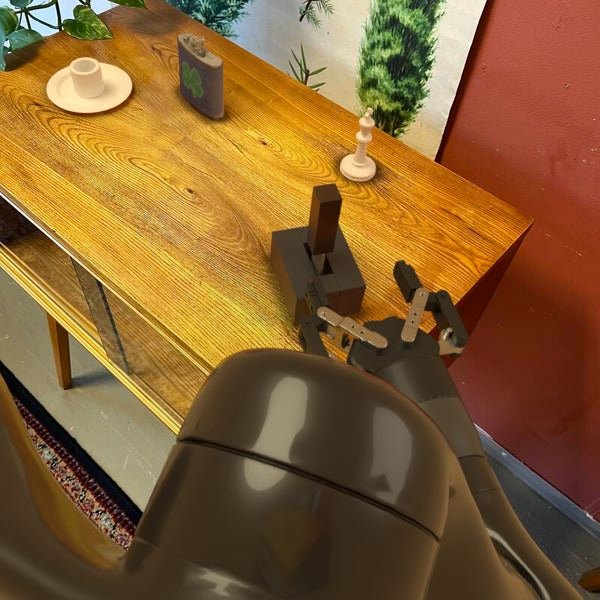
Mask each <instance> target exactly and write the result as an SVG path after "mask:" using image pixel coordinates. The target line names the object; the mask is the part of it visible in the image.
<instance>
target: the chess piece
mask: <svg viewBox="0 0 600 600" xmlns="http://www.w3.org/2000/svg"><path fill="white" fill-rule="evenodd" d="M373 114H374V109H373V108H372V107H367V108H366V113H365V114H363V116H362V117H360V119H359V120H358V124H359V130H360V131H358V132H357V133H356V134H355V138H356V140H357V141H358V144H357V147H356V150H355V153H351V154H347V155H346V156H344V157H343V158H342V160H341V162H340V166H339V171H340V173H341V174H342V176H344V177H345V178H347V179H348V180H351V181H353V182H366V181H369V180H371V179H372V178H374V177H375V175H376V173H377V171H376V170H377V166H376V163H375V161H374V160H373V159H372V158H370V157H369V156H367V148H368V147H367V146H368V143H370V142H372V140H373V135H372V133H371V132H372V129H374V127H375V124H376V122H375V119H374V118H372V117H371V116H372V115H373Z"/></svg>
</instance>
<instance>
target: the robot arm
mask: <svg viewBox="0 0 600 600" xmlns="http://www.w3.org/2000/svg"><path fill="white" fill-rule="evenodd" d="M392 275H393V276H392V277H393V279H394V280H395V282H396V285H397V287H398V290H399V291H400V293H401V295H402V297H403V300H404V301H405V303H406V304H410V307H409V310H408V312H407V315H406V318H401V317H398V315H391V316H388V317H386V318H383V319H381V320H376V319H375V320H374V319H371V320H368V321H363V324H360V323H359V322H357V321H356V320H354V319H352V318H351V317H349V316H340V315H338V314H337V313H335V312H333V311H332V310H330V309H329V308H330V303H329V300H328V298H327V295H326V293H325V290H324V288H323V285H322V283H321V280H320V278H319V276H318V275H317V276H311V277H310V282H309V283H307V286H306V293H305V298H306V301H307V303H308V306H309V309H310V311H311V314H312V315H311V316H309V317H308V316H304V317H302V318H301V319H300V322H299V325H298V332H297V340H298V343H299V345H300V348H301V349H302V351H301V350H296V349H292V348H291V349H289V348H281V347H280V348H279V347H254V348H247V349H242V350H239V351H236V352H234V353H232V354H230V355H228V356H225V357H224V358H223V359H222V360H221V361H220V362H218V364H216V366H215V367H214V368H213V369H211V371H210V372H209V374H208V375H207V377H206V378H205V379H204V381H203V383H202V384H201V387H200V388H199V390H198V391H197V393H196V395H195V397H194V399H193V401H192V403H191V404H190V405H189V409H188V411H187V413H186V415H185V417H184V419H183V421H182V423H181V426H180V428H179V430H178V433H177V435H176V438H175V444H173V445H172V446H171V447H170V451H169V452H168V455H167V458H166V460H165V462H164V464H163V467H162V469H161V471H160V474H159V476H158V478H157V480H156V482H155V485H154V487H153V489H152V492H151V494H150V496H149V498H148V501H147V503H146V506H145V507H144V510H143V513H142V514H141V517H140V519H139V522H138V523H137V526H136V528H135V531H134V536H133V538H132V540H131V542H130V544H129V546H128V548H127V550H126V549H125V548H124V547H123V546H121V545H120V544H119V543H118V542H116V541H115V540H114V539H113V538H111V537H110V536H109V535H107V534H106V533H105V532H104V531H103V530H102V528H101V529H100V527H99V526H98V525H96V523H94V521H92V520H91V519H90V517H88V516H87V515H86V514H85V513H84V512H83V511H82V510H81V509H80V507H79V506H78V505H77V504H75V502H74V501H73V500H72V499H71V498H70V496H69V495H68V493H66V491H65V490H64V489H63V487H62V486H61V485H60V483H59V482H58V480H57V479H56V477H55V476H54V474H53V473H52V472H51V470H50V468H49V467H48V465H47V464H46V463H45V461H44V459H43V457H42V455H41V454H40V452H39V450H38V448H37V446H36V444H35V442H34V440H33V437H32V436H31V434H30V431H29V428H28V427H27V425H26V422H25V420H24V419H23V417H22V414H21V412H20V410H19V408H18V406H17V403H16V402H15V399H14V397H13V395H12V393H11V390H10V389H9V387H8V385H7V383H6V381H5V379H4V377H3V375H2V374H1V373H0V600H584V598H583V597H582V596H581V594H580V593H579V592H578V591H577V590H576V589H575V587H574V586H573V585H572V584H571V583H570V582H569V580H568V579H566V577H565V576H564V575H563V574H562V573H561V571H560V570H559V569H558V568H557V567H556V566H555V565H554V564H553V563H552V561H551V560H550V559H549V558H548V557H547V555H546V554H545V553H544V552H543V550H542V549H541V548H540V547H539V546H538V544H537V543H536V541H534V539H533V538H532V537H531V535H530V534H529V533H528V531H527V530H526V528H525V527H524V525H523V523H522V522H521V521H520V519H519V517H518V515H517V514H516V512H515V511H514V509H513V507H512V505H511V504H510V501H509V499H508V498H507V495H506V494H505V492H504V490H503V488H502V486H501V483H500V481H499V480H498V478H497V475H496V474H495V471H494V470H493V467H492V465H491V463H490V462H489V459H488V457H487V454H486V452H485V449H484V445H483V443H482V439H481V437H480V433H479V431H478V429H477V427H476V424H475V423H474V421H473V418H472V417H471V415H470V413H469V412H470V411H468V408H467V406H466V404H465V402H464V400H463V398H462V396H461V394H460V392H459V389H458V388H457V386H456V384H455V382H454V380H453V378H452V376H451V374H450V372H449V369H448V367H447V365H446V364H445V361H444V360H443V359H442V358H441V356H443V355H449V356H450V357H452V358H453V359H460V358H461V356H462V355H463V353H464V351H465V350H466V347H467V345H468V343H469V341H470V337H469V334H468V332H467V329H466V328H465V325H464V322H463V321H462V318H461V316H460V314H459V312H458V310H457V308H456V306H455V303H454V301H453V299H452V297H451V294H450V293H449V291H448V290H446V289H439V290H438V291H436V292H435V291H429V290H428V289H427V288H425V287H424V286H423V284H422V282H421V280H420V278H419V276H418V274H417V271H416V270H415V268H414V266H412V265H411V264H410V263H409V264H407V263H406V261H405V260H404V259H400V260H396V261H395V263H394V266H393V270H392ZM424 312H430V313H431V315H432V317H433V320H434V322H435V324H436V326H437V330H438V331H439V336H438V338H437V339H438V340H437V339H436V338H435V337H433V336H432V335H431V334H429V333H428V332H426V331H425V330H423V329H421V328H419V327H420V324H421V321H422V317H423V314H424ZM321 336H322V337H324V338H326V339H327V340H328V341H330V342H332V344H333V346H334V347H335V348H336V349H337V350H339V351H340V352H341V353H343V354H345V355H347V357H346V361H345V360H344V361H343V360H340V359H338V357H337V356H336V355H335V354H334V353H333V352H328V349H327V347H326V346H325V343H324V341H323V339H322V337H321ZM349 336H350V337H352V338H353V340H352V339H351V338H350V337H349Z"/></svg>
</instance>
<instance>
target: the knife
mask: <svg viewBox="0 0 600 600" xmlns="http://www.w3.org/2000/svg"><path fill="white" fill-rule="evenodd" d="M343 200H344V199H343V197H342V194H341V192H340V190H339V188H338V186H337V183H336V182H334V183H333V182H332V183H327V184H319V185H313V186H312V193H311V201H310V209H309V216H308V224H307V226H308V232H307V242H308V245H309V247H310V250H311V252H312V258H311V265H312V267H313V270H314V272H315V275H316V276H317V275H318V276H322V273H323V267H324V260H325V254H324V253H330V252H333V251H334V246H335V240H336V234H337V229H338V223H339V222H340V216H341V213H342V205H343ZM339 224H340V223H339Z"/></svg>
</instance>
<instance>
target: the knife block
mask: <svg viewBox="0 0 600 600" xmlns="http://www.w3.org/2000/svg"><path fill="white" fill-rule="evenodd" d="M307 232H308V225H303V226H298V227H291V228H285V229H279V230H273V231H271V238H270V256H269V261H270V264H271V266H272V269H273V272H274V275H275V278H276V281H277V284H278V286H279V289H280V292H281V295H282V298H283V300H284V303H285V306H286V309H287V312H288V315H289V317H290V320H291V323H292V326H294V327H295V326H299V322H300V319H301V318H302V317H304V316H308V317H309V316H311V315H312V314H311V311H310V309H309V306H308V303H307V301H306V298H305V293H306V286H307V283H309V282H310V277H311V276H316V275H315V272H314V270H313V267H312V265H311V258H312V252H311V250H310V247H309V245H308V242H307ZM324 254H325V260H324V267H323V273H322V276H319V278H320V280H321V283H322V285H323V288H324V290H325V293H326V295H327V298H328V300H329V303H330V308H329V309H330V310H332V311H333V312H335V313H337V314H338V315H340V316H341V317H345V316H349V315H353V314H358V313H360V312H361V309H362V305H363V302H364V297H365V294H366V289H367V283H366V282H365V279H364V277H363V275H362V273H361V270H360V267H359V265H358V263H357V261H356V258H355V257H354V255H353V253H352V250H351V247H350V246H349V243H348V242H347V239H346V237H345V235H344V233H343V230H342V228H341V225H340V223H338V229H337V234H336V240H335V246H334V251H333V252H330V253H324Z"/></svg>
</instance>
